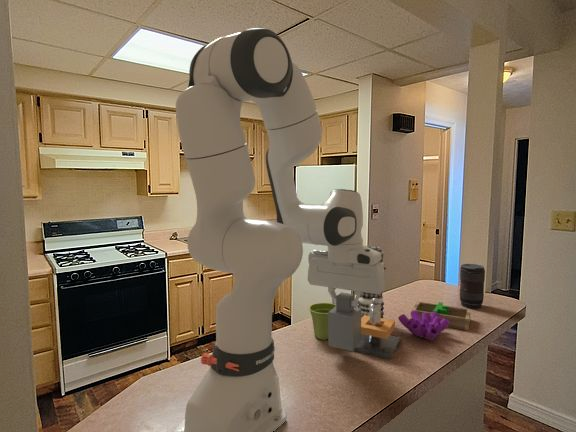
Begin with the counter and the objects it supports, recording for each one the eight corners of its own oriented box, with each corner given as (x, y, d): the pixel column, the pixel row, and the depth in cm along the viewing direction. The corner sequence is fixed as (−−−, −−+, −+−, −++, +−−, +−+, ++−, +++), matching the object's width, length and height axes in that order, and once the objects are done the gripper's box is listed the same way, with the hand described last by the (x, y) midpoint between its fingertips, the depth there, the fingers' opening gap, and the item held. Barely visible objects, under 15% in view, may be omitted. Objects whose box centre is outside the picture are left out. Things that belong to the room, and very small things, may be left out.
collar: (386, 339, 96) (387, 331, 96) (354, 332, 101) (354, 325, 101) (394, 327, 104) (395, 320, 104) (364, 321, 109) (364, 315, 108)
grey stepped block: (352, 351, 91) (353, 301, 90) (328, 345, 95) (328, 297, 93) (361, 341, 97) (361, 293, 96) (337, 336, 100) (337, 290, 99)
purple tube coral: (405, 351, 106) (389, 320, 110) (431, 337, 116) (415, 308, 120) (435, 339, 99) (417, 306, 102) (461, 324, 108) (443, 295, 112)
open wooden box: (468, 330, 113) (468, 319, 112) (411, 320, 121) (411, 310, 121) (470, 319, 121) (470, 309, 121) (416, 311, 130) (417, 301, 129)
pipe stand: (390, 359, 95) (391, 308, 93) (347, 349, 101) (347, 301, 99) (401, 341, 105) (402, 295, 104) (360, 333, 111) (361, 290, 110)
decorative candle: (386, 319, 122) (387, 245, 120) (382, 329, 114) (384, 250, 111) (358, 315, 126) (359, 243, 123) (353, 325, 117) (354, 248, 115)
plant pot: (303, 338, 107) (303, 310, 107) (316, 327, 116) (316, 300, 115) (333, 345, 103) (333, 315, 102) (344, 332, 111) (344, 305, 111)
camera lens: (453, 304, 137) (455, 264, 135) (469, 301, 140) (470, 262, 139) (472, 311, 129) (474, 269, 128) (488, 307, 133) (490, 267, 131)
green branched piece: (444, 326, 116) (444, 312, 115) (432, 323, 118) (432, 310, 117) (449, 315, 125) (450, 303, 124) (438, 313, 127) (439, 301, 126)
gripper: (303, 251, 95) (303, 302, 97) (381, 259, 86) (380, 316, 87) (313, 247, 101) (313, 295, 102) (387, 254, 91) (387, 307, 92)
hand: (344, 305), depth 95 cm, fingers closed on grey stepped block, 3 cm apart
